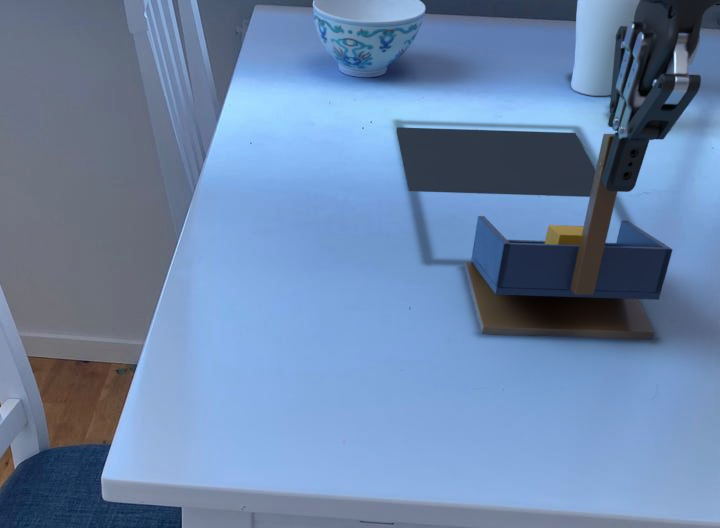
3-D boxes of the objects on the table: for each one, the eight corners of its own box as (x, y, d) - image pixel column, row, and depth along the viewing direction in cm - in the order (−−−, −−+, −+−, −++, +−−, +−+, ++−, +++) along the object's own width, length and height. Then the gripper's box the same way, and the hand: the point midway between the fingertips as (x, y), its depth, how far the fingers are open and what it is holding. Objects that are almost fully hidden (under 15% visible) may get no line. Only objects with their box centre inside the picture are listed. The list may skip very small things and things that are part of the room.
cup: (646, 101, 124) (684, -20, 114) (571, 104, 123) (603, -19, 113) (613, 74, 131) (646, -43, 121) (542, 76, 130) (569, -41, 120)
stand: (616, 282, 91) (621, 266, 90) (648, 348, 83) (654, 332, 82) (462, 277, 91) (465, 261, 90) (479, 343, 83) (483, 326, 82)
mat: (574, 136, 116) (575, 132, 116) (650, 278, 92) (651, 274, 92) (396, 130, 116) (396, 127, 116) (425, 271, 92) (426, 267, 92)
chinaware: (356, 44, 138) (362, -18, 132) (438, 70, 131) (448, 6, 125) (286, 67, 131) (289, 2, 125) (369, 96, 124) (377, 29, 118)
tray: (616, 266, 90) (652, 119, 83) (665, 305, 79) (711, 139, 72) (470, 261, 90) (493, 114, 83) (499, 299, 79) (528, 133, 72)
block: (583, 273, 85) (593, 226, 83) (595, 284, 82) (607, 235, 79) (538, 272, 85) (548, 224, 83) (549, 283, 82) (559, 234, 79)
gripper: (799, -69, 55) (690, 226, 68) (726, -111, 64) (642, 156, 77) (672, -73, 55) (587, 222, 68) (617, -114, 64) (550, 153, 77)
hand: (616, 187), depth 73 cm, fingers closed
